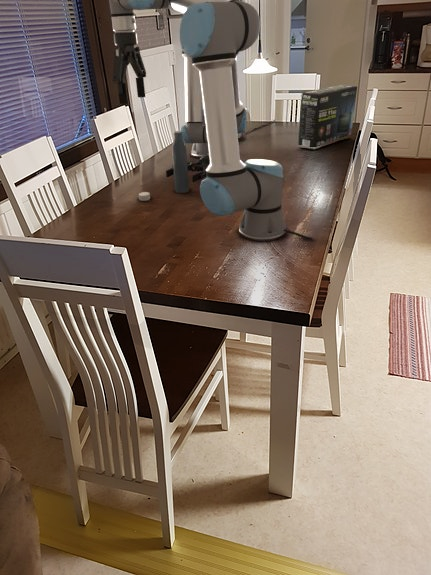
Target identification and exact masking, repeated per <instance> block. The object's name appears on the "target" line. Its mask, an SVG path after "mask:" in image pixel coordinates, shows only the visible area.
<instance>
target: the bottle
mask: <svg viewBox="0 0 431 575" xmlns="http://www.w3.org/2000/svg"><path fill="white" fill-rule="evenodd" d="M187 152H188V150H187V143H185V142H184V140H183V139H182V131H181V130H175V131H173V141H172V144H171V156H172V158H171V159H172V165H173V167H172V168H173V170H174V175H173V180H174V182H173V183H174V192H175V193H177V194H184V193H185V194H186V193H188V192H190V182H189V171H188V164H187V162H188V153H187Z"/></svg>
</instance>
